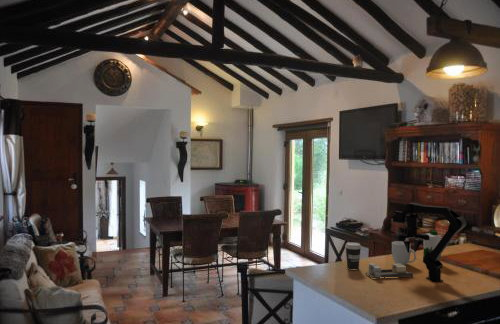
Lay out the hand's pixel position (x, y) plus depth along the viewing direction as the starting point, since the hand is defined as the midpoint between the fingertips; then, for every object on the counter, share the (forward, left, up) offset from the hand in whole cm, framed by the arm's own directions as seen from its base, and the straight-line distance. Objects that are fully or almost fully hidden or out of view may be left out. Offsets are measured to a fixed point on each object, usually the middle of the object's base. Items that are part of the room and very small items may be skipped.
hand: (411, 252), depth 225 cm
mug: (+19, -6, -13) cm, 24 cm away
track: (0, +13, -13) cm, 19 cm away
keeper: (0, +7, -12) cm, 14 cm away
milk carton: (+19, -25, -13) cm, 34 cm away
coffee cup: (+15, +28, -13) cm, 35 cm away
